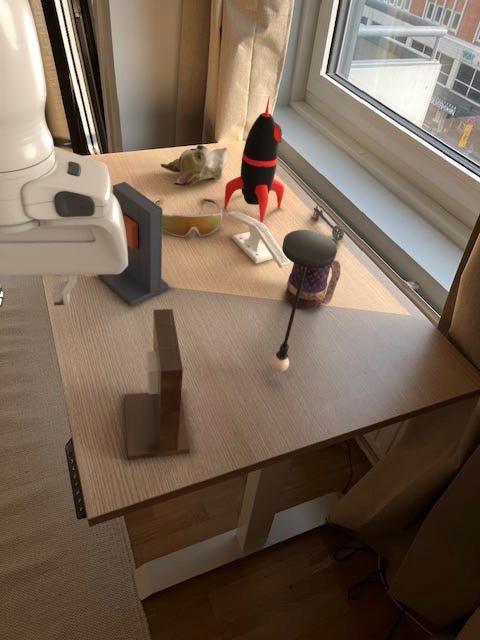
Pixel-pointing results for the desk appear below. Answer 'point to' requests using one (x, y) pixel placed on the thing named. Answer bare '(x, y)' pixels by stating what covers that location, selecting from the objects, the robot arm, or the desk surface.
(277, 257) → the t-shaped cleat
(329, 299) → the mug
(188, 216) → the sunglasses
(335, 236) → the key
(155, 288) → the panel far
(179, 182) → the ceramic sculpture
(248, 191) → the toy rocket
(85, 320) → the desk surface
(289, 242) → the light fixture
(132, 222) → the switch far
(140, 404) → the panel near
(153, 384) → the switch near
